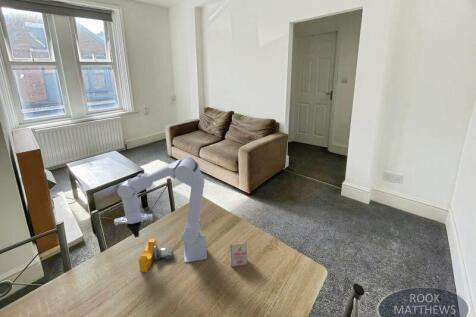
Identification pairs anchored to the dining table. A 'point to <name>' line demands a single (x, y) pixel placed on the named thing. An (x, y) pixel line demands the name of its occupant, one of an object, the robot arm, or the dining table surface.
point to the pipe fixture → (163, 253)
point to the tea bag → (238, 254)
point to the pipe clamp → (147, 256)
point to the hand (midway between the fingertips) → (137, 235)
